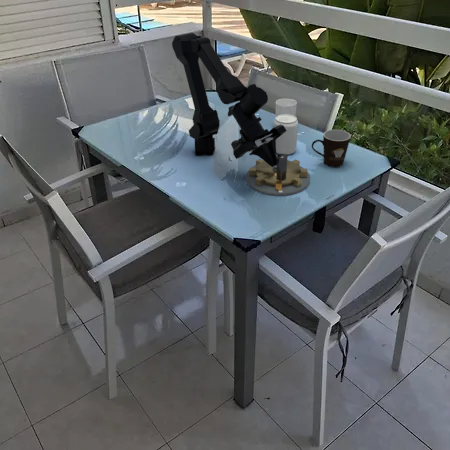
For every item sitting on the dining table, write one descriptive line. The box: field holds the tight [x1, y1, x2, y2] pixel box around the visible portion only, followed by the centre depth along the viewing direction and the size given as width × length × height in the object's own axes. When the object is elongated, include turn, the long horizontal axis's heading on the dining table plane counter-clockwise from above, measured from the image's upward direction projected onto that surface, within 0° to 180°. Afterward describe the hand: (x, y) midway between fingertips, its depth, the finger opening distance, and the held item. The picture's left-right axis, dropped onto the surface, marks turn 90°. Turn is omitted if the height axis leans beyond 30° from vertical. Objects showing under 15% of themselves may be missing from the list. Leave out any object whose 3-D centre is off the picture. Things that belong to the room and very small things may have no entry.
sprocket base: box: [245, 164, 311, 197], centre depth 150 cm, size 20×20×1 cm
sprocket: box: [248, 153, 309, 190], centre depth 147 cm, size 18×18×10 cm
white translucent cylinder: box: [275, 98, 298, 118], centre depth 180 cm, size 8×8×10 cm
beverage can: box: [273, 114, 299, 156], centre depth 164 cm, size 8×8×12 cm
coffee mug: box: [311, 129, 352, 168], centre depth 156 cm, size 12×9×10 cm
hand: (274, 165), depth 142 cm, fingers closed
